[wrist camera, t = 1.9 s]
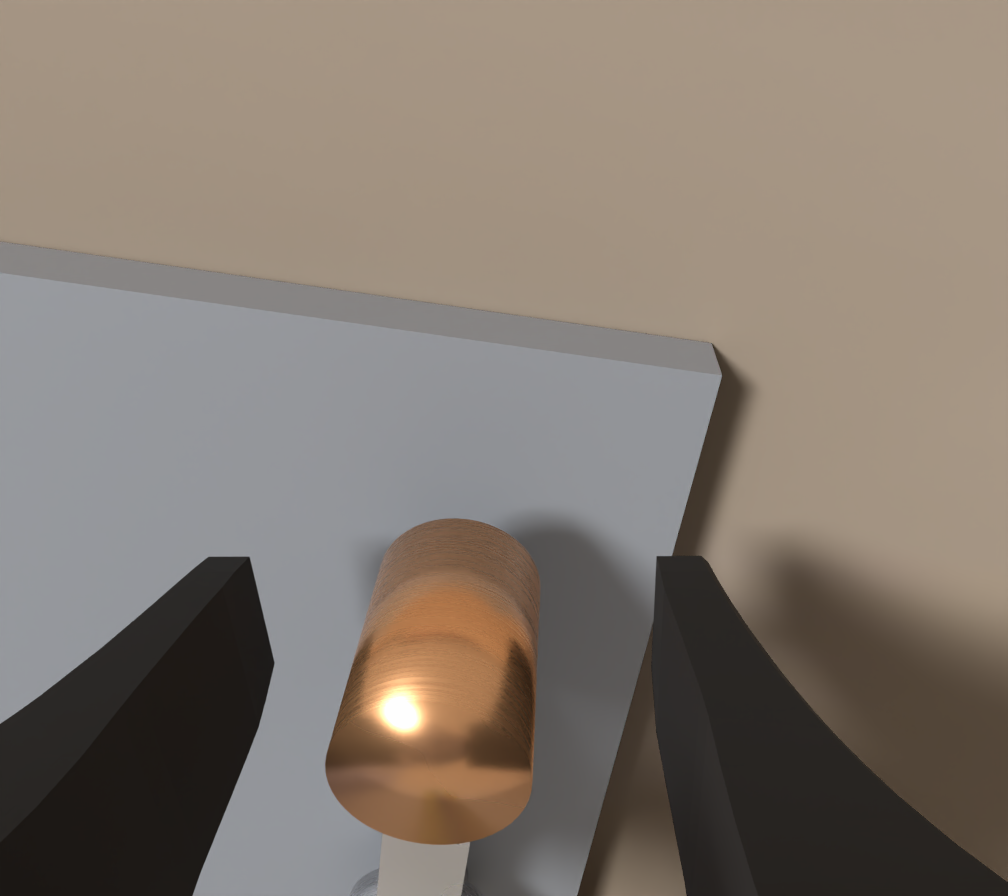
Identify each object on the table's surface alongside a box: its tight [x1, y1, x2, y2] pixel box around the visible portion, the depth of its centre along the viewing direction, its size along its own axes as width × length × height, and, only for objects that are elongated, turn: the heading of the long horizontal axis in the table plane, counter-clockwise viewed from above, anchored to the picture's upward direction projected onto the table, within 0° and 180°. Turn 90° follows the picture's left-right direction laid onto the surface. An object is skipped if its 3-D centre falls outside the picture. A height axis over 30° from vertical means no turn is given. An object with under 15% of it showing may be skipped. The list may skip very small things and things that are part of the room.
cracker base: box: [0, 242, 722, 896], centre depth 18 cm, size 18×20×4 cm
